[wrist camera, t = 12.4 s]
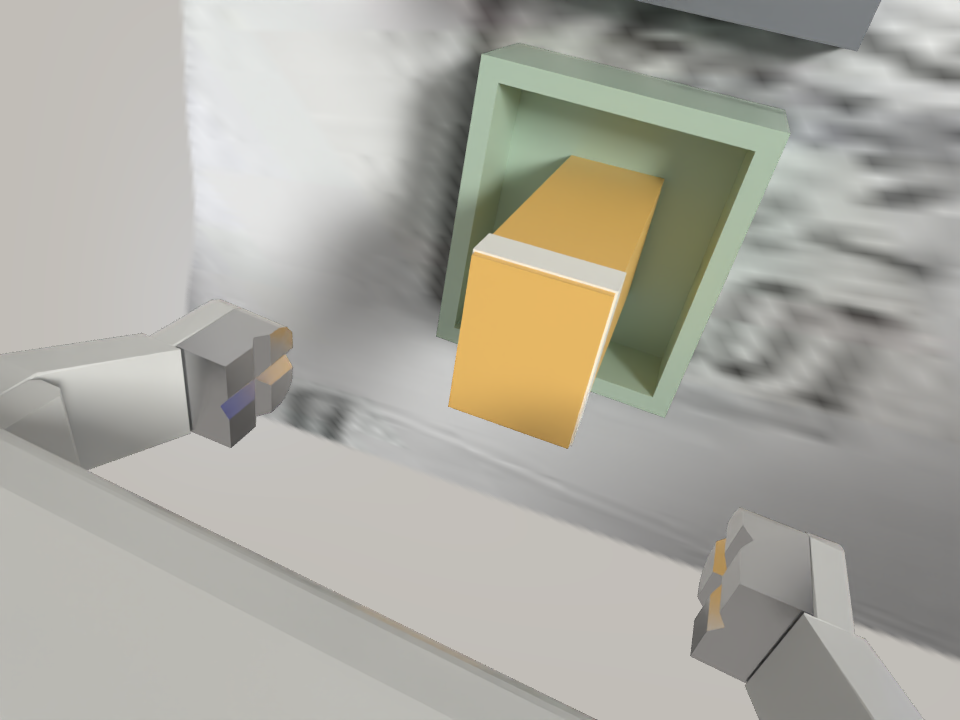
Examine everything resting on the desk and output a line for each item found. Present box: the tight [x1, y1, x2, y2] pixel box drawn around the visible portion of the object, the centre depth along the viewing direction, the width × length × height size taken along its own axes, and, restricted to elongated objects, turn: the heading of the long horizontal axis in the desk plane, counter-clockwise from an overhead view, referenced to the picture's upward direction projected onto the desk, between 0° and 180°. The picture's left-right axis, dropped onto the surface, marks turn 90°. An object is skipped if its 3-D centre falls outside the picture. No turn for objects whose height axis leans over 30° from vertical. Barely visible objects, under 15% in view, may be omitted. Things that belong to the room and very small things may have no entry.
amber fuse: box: [448, 155, 665, 449], centre depth 18 cm, size 3×4×9 cm
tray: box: [436, 43, 790, 418], centre depth 20 cm, size 8×9×3 cm
